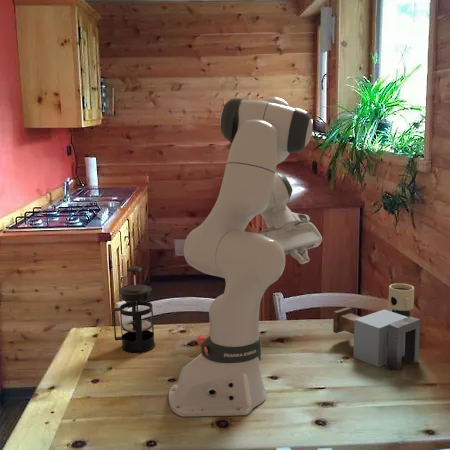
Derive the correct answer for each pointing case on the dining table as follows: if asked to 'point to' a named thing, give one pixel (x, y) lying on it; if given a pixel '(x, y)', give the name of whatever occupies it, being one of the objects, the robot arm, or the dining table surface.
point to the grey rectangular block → (374, 336)
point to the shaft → (345, 321)
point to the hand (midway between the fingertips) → (305, 262)
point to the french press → (135, 318)
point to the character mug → (401, 298)
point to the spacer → (395, 342)
